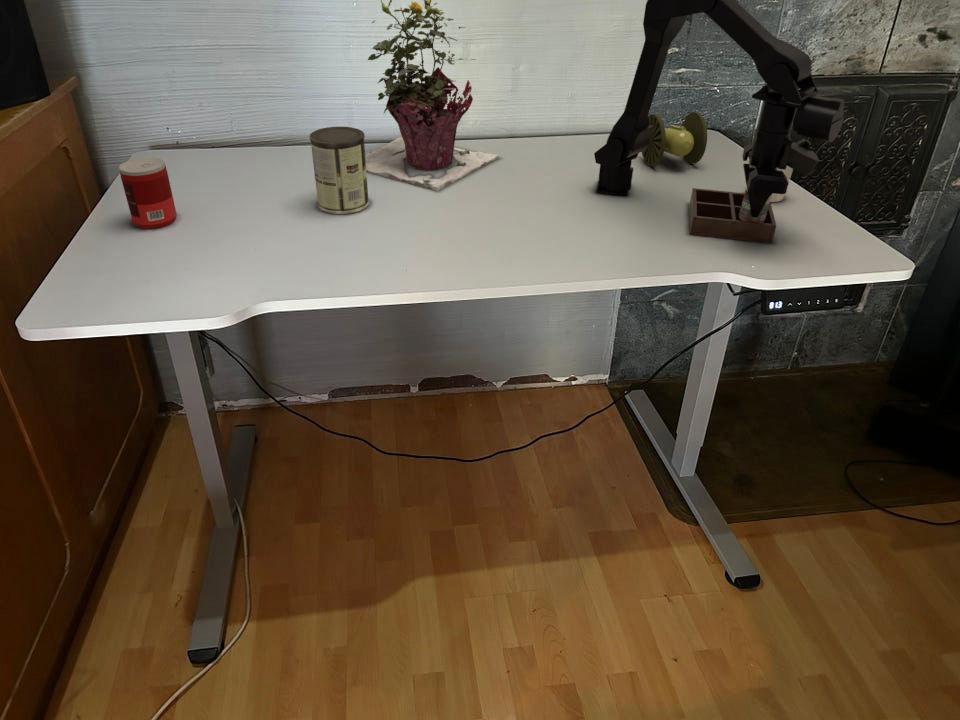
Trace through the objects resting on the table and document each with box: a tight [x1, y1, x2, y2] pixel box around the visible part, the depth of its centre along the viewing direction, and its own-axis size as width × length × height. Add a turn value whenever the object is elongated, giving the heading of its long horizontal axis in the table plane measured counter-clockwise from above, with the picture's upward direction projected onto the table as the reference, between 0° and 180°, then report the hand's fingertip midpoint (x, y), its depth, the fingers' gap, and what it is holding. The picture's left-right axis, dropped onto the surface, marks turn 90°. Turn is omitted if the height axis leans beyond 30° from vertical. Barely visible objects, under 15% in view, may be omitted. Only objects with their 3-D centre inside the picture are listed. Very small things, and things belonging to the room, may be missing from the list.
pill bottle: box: [739, 186, 772, 223], centre depth 138 cm, size 5×5×8 cm
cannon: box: [641, 111, 708, 167], centre depth 174 cm, size 25×12×11 cm, turn 13°
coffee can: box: [309, 126, 370, 215], centre depth 145 cm, size 10×10×14 cm
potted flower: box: [365, 0, 500, 192], centre depth 161 cm, size 27×25×35 cm
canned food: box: [118, 156, 177, 230], centre depth 138 cm, size 8×8×11 cm
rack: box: [688, 187, 777, 245], centre depth 145 cm, size 15×15×4 cm
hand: (753, 211), depth 140 cm, fingers closed on pill bottle, 5 cm apart
